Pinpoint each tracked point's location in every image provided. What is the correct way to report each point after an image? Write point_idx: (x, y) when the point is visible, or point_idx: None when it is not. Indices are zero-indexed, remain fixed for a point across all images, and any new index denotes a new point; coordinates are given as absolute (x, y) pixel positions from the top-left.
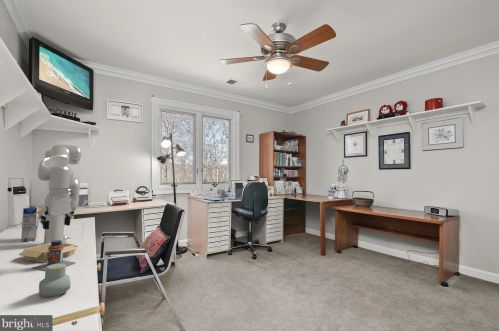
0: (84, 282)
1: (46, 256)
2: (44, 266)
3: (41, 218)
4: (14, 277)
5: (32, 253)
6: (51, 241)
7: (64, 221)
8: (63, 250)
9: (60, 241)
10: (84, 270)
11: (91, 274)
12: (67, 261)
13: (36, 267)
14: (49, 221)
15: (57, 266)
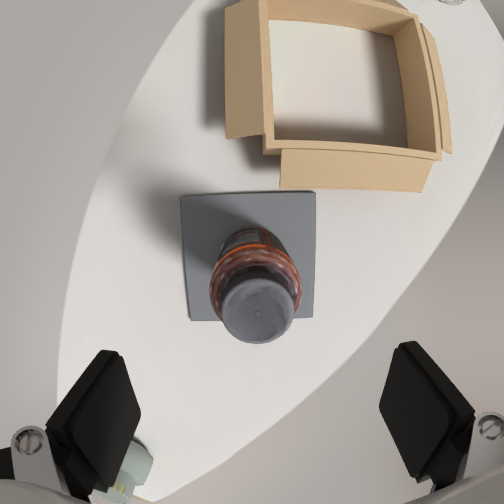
0: (195, 460)
1: (275, 152)
2: (213, 240)
3: (10, 465)
4: (98, 256)
5: (242, 73)
6: (226, 294)
7: (415, 379)
8: (365, 174)
9: (266, 341)
10: (258, 409)
11: (241, 443)
12: (310, 267)
13: (189, 219)
14: (114, 482)
15: (110, 498)
